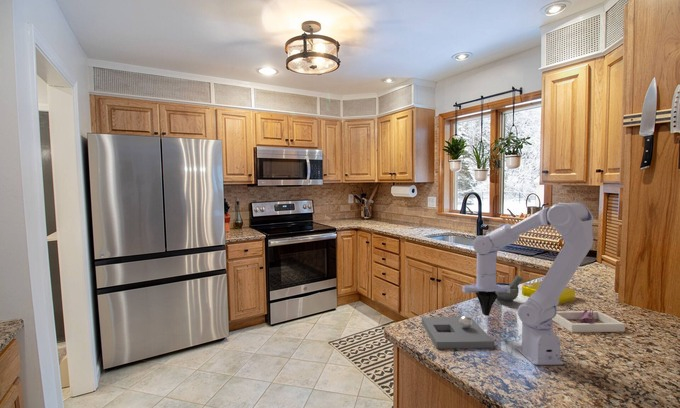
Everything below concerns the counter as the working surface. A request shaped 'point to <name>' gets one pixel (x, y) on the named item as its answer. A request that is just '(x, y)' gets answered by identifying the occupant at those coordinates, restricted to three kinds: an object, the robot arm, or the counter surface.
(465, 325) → the steel ball
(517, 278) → the mortar and pestle
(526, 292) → the element tile
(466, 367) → the counter surface
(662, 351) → the counter surface
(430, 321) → the hole board
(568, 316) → the vegetable tray
